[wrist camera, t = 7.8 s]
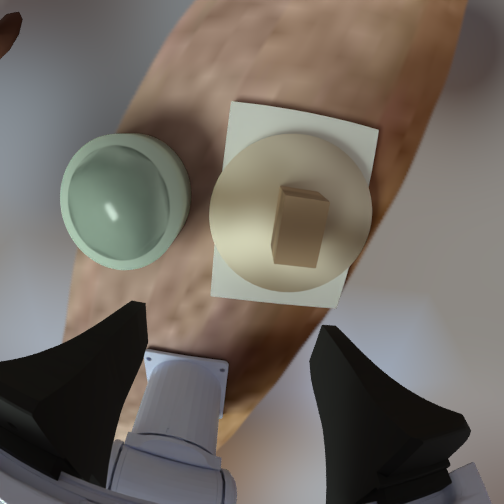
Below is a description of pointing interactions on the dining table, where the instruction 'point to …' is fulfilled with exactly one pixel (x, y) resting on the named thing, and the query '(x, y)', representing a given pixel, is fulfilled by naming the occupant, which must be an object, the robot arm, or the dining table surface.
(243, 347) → the dining table surface
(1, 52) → the ice cream bowl
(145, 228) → the bowl
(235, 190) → the lid
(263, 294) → the mat
